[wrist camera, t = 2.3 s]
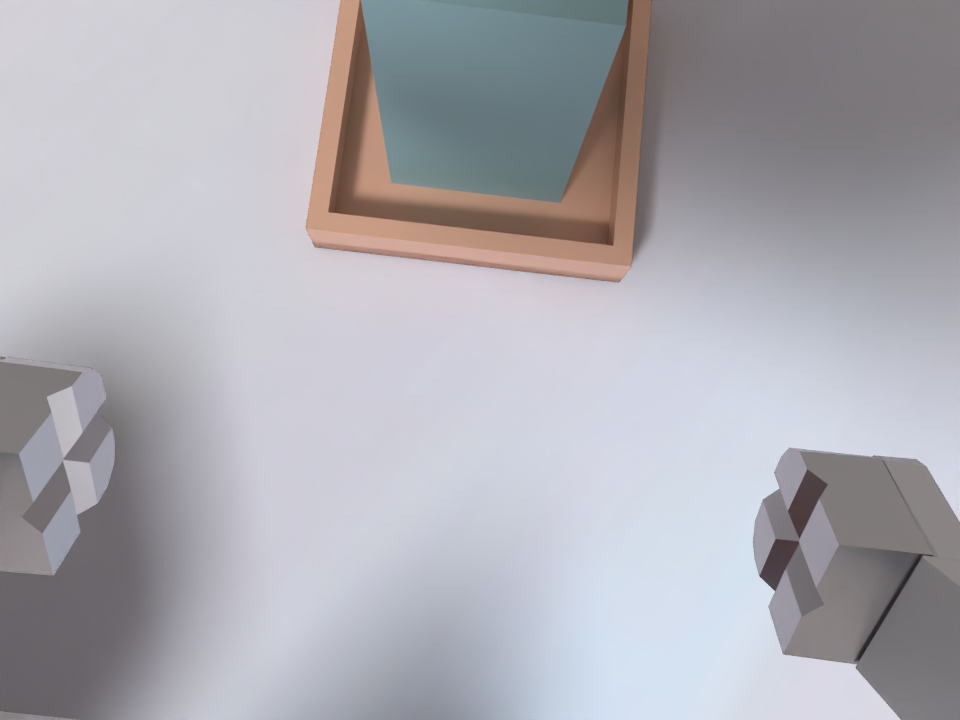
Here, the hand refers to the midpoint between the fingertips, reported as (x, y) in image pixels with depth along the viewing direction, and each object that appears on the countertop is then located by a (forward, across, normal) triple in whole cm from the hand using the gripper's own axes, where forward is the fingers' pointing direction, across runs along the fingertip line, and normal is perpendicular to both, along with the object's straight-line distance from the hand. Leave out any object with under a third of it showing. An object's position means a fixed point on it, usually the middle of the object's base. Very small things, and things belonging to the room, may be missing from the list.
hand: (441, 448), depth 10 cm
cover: (+19, 0, +2) cm, 20 cm away
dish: (+20, 0, +3) cm, 20 cm away
